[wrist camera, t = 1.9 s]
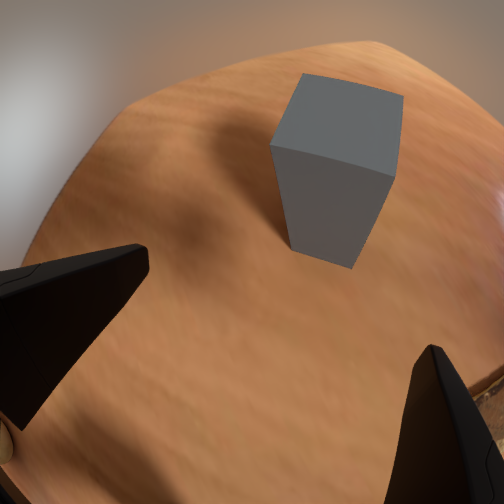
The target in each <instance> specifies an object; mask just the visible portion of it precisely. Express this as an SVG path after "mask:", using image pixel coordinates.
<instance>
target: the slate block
mask: <svg viewBox="0 0 504 504" xmlns="http://www.w3.org/2000/svg"><path fill="white" fill-rule="evenodd" d="M403 97H404V96H402V95H399V94H395V93H392V92H389V91H385V90H381V89H378V88H374V87H370V86H366V85H362V84H357V83H353V82H349V81H344V80H339V79H334V78H328V77H323V76H317V75H311V74H304V73H303V74H302V76H301V78H300V81H299V83H298V85H297V87H296V89H295V91H294V93H293V95H292V97H291V99H290V102H289V104H288V106H287V108H286V110H285V112H284V114H283V116H282V119H281V121H280V123H279V125H278V127H277V129H276V132H275V134H274V136H273V138H272V140H271V142H270V149H271V154H272V158H273V162H274V167H275V172H276V176H277V181H278V185H279V190H280V195H281V200H282V204H283V209H284V214H285V219H286V224H287V229H288V234H289V239H290V245H291V250H293V251H296V252H299V253H302V254H305V255H309V256H312V257H315V258H318V259H321V260H325V261H328V262H331V263H334V264H337V265H340V266H344V267H347V268H350V269H352V267H353V265H354V264H355V262H356V260H357V258H358V256H359V254H360V252H361V250H362V248H363V246H364V244H365V242H366V240H367V238H368V236H369V234H370V232H371V230H372V228H373V226H374V224H375V221H376V219H377V217H378V215H379V213H380V211H381V209H382V206H383V204H384V202H385V200H386V197H387V195H388V193H389V191H390V188H391V186H392V184H393V181H394V179H395V176H396V169H397V162H398V154H399V145H400V136H401V126H402V113H403Z"/></svg>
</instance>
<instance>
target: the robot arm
mask: <svg viewBox="0 0 504 504" xmlns="http://www.w3.org/2000/svg"><path fill="white" fill-rule="evenodd" d="M148 273H149V256H148V250H147V248H146V247H145V246H142V245H140V244H131V245H125V246H120V247H115V248H110V249H105V250H100V251H95V252H91V253H86V254H81V255H76V256H72V257H67V258H62V259H58V260H53V261H49V262H44V263H42V264H41V263H39V264H35V265H31V266H26V267H21V268H16V269H11V270H5V271H0V411H1V412H2V413H3V414H4V415H5V416H6V417H7V418H8V419H9V420H10V421H11V422H12V423H13V424H14V425H15V426H16V427H18V428H19V429H20V430H21V431H23V430H24V429H25V428H26V426H27V425H28V423H29V422H30V421H31V419H32V418H33V417H34V415H35V414H36V413H37V411H38V410H39V409H40V407H41V406H42V405H43V403H44V402H45V401H46V399H47V398H48V397H49V396H50V394H51V393H52V391H53V390H54V389H55V388H56V386H57V385H58V384H59V383H60V381H61V380H62V379H63V378H64V376H65V375H66V374H67V373H68V371H69V370H70V369H71V368H72V366H73V365H74V364H75V363H76V362H77V360H78V359H79V358H80V357H81V356H82V354H83V353H84V352H85V351H86V350H87V348H88V347H89V346H90V345H91V344H92V343H93V341H94V340H95V339H96V338H97V337H98V336H99V334H100V333H101V332H102V331H103V330H104V329H105V327H106V326H107V325H108V324H109V323H110V322H111V321H112V319H113V318H114V317H115V316H116V315H117V314H118V313H119V312H120V310H121V309H122V308H123V307H124V306H125V304H126V303H127V302H128V300H129V299H130V298H131V296H132V295H133V294H134V292H135V291H136V289H137V288H138V287H139V285H140V284H141V283H142V281H143V280H144V279H145V277H146V276H147V275H148ZM0 428H1V418H0ZM0 504H31V503H30V502H29V500H28V499H27V498H26V497H25V496H24V495H23V494H22V493H21V491H20V490H19V489H18V488H17V487H16V485H15V484H14V483H13V482H12V481H11V479H10V478H9V477H8V476H7V474H6V473H5V472H4V470H3V469H2V468H1V466H0ZM384 504H504V460H503V457H502V455H501V453H500V451H499V449H498V447H497V445H496V442H495V440H493V436H492V434H491V432H490V430H489V428H488V426H487V424H486V422H485V420H484V418H483V417H482V415H481V413H480V411H479V409H478V407H477V405H476V404H475V402H474V400H473V398H472V396H471V395H470V393H469V391H468V389H467V388H466V386H465V384H464V383H463V381H462V379H461V377H460V376H459V374H458V373H457V371H456V369H455V368H454V366H453V364H452V363H451V361H450V360H449V358H448V356H447V355H446V353H445V352H444V350H443V349H442V348H441V347H439V346H436V345H432V344H430V345H428V346H427V347H426V348H425V350H424V351H423V353H422V354H421V355H420V357H419V358H418V360H417V361H416V363H415V364H414V367H413V370H412V375H411V380H410V385H409V390H408V394H407V399H406V403H405V407H404V412H403V416H402V422H401V429H400V435H399V441H398V446H397V451H396V456H395V461H394V466H393V470H392V474H391V478H390V482H389V486H388V490H387V494H386V497H385V501H384Z"/></svg>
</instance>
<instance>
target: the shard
mask: <svg viewBox="0 0 504 504" xmlns="http://www.w3.org/2000/svg"><path fill="white" fill-rule="evenodd" d="M472 398H473V400H474V402H475V404H476V405H477V407H478V409H479V411H480V413H481V415H482V417H483V418H484V420H485V422H486V424H487V426H488V428H489V430H490V432H491V434H492V436H493V440H495V442H496V445H497V447H498V449H499V451H500V453H502V452H503V451H504V375H503V376H502V377H501V378H500V379H498V380H497V381H495V382H494V383H492V385H491V386H490V387H489V388H488V389H486V390H484V391H483V392H481V393H480V394H478V395H476V396H474V397H472Z"/></svg>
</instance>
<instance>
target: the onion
mask: <svg viewBox="0 0 504 504" xmlns="http://www.w3.org/2000/svg"><path fill="white" fill-rule="evenodd" d="M12 454H13V443H12V440H11V437H10V434H9V432H8V431H7V428H6V427H5V425H4V424H3V422H2V421H1V428H0V464H5V463H7V462H9V461H10V459H11V457H12Z"/></svg>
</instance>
